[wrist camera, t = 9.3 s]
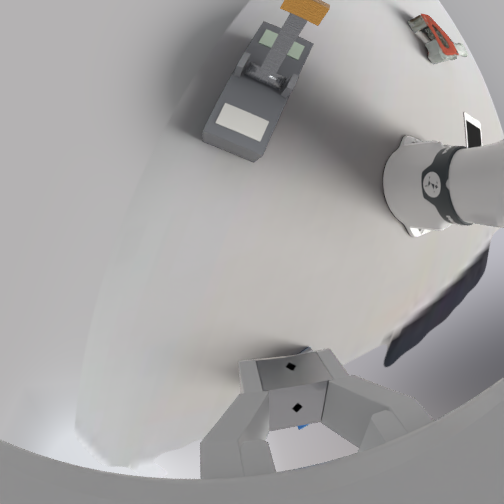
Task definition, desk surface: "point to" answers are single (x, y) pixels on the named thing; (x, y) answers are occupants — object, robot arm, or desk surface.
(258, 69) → the lever
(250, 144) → the block
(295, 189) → the desk surface
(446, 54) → the tape dispenser
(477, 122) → the cell phone
